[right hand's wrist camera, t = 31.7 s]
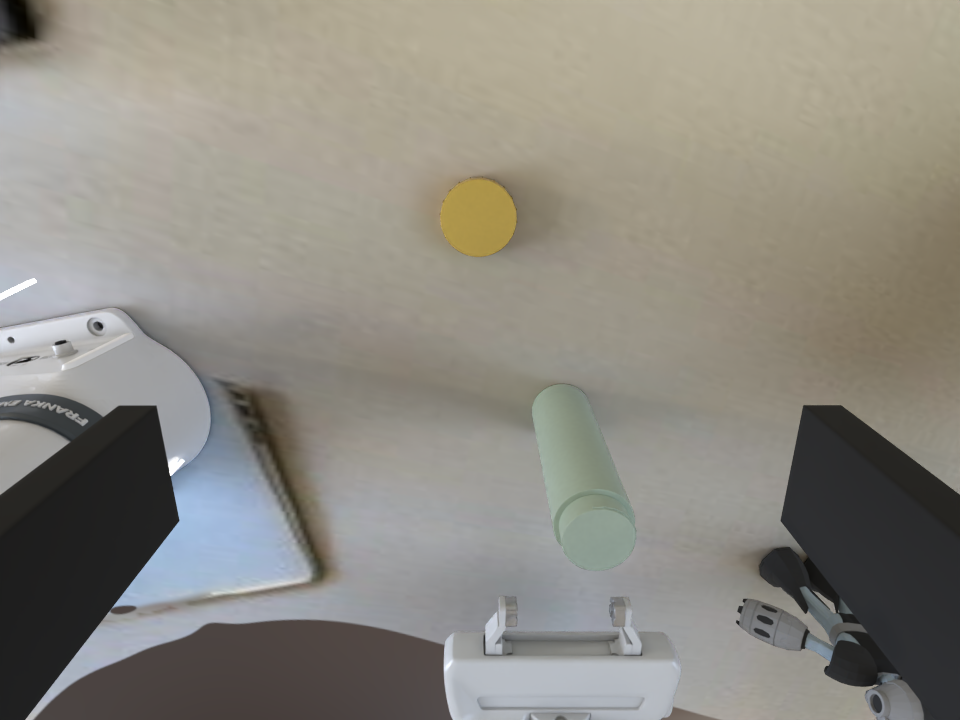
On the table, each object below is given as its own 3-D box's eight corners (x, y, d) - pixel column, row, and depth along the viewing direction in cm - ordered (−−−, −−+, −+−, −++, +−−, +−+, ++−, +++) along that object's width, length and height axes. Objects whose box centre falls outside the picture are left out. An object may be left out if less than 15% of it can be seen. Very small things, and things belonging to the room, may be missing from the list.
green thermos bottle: (590, 434, 58) (641, 573, 40) (533, 438, 58) (557, 578, 40) (589, 381, 56) (642, 501, 38) (530, 385, 56) (554, 507, 38)
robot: (900, 560, 63) (1080, 743, 44) (881, 598, 64) (1047, 790, 45) (712, 534, 62) (815, 710, 43) (699, 574, 63) (792, 760, 44)
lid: (438, 179, 50) (436, 180, 48) (514, 174, 50) (515, 176, 48) (444, 255, 52) (442, 259, 50) (517, 250, 52) (518, 255, 50)
